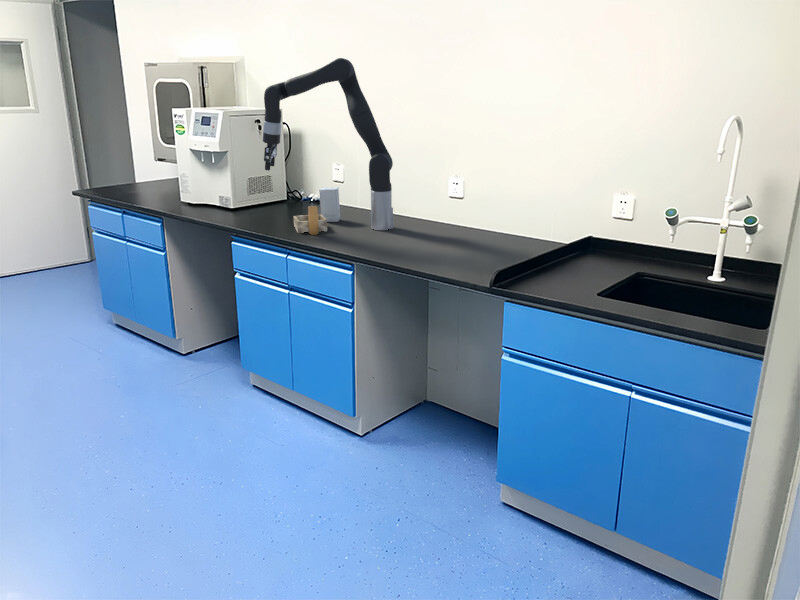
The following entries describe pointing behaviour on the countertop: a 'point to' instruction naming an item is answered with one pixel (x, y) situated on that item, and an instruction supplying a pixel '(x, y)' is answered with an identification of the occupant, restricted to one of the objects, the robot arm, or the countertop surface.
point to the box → (303, 223)
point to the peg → (313, 220)
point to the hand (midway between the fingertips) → (269, 168)
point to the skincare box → (330, 203)
